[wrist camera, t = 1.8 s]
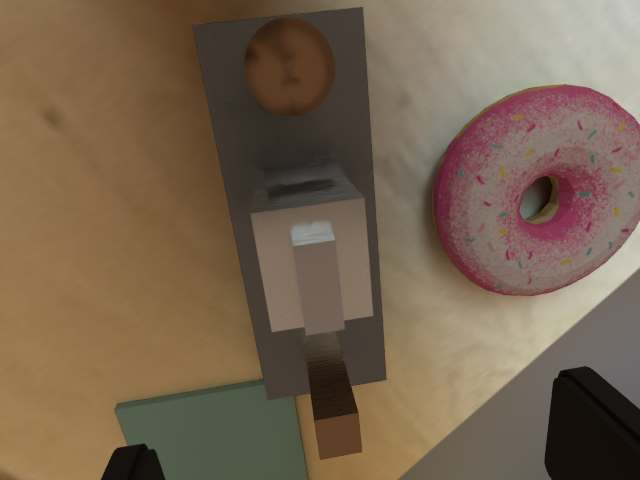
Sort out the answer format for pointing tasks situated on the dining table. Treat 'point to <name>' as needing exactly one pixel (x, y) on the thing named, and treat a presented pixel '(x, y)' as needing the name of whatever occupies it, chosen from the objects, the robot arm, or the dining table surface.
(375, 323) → the plane body
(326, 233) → the lever cap
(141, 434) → the rubber mat
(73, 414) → the dining table surface
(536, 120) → the donut
